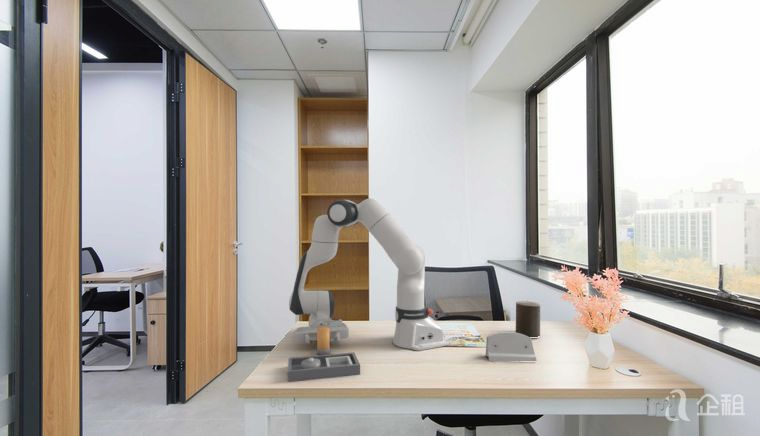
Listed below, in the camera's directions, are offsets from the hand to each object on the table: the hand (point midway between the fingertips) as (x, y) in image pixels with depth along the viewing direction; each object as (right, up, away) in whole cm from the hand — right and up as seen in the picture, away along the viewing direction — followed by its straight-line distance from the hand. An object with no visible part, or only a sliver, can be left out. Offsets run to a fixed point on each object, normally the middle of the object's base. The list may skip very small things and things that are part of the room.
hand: (323, 339), depth 125 cm
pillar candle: (+84, -6, +23) cm, 87 cm away
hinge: (+67, -6, -2) cm, 67 cm away
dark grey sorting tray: (+2, -5, -14) cm, 15 cm away
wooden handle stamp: (0, -6, -1) cm, 6 cm away
